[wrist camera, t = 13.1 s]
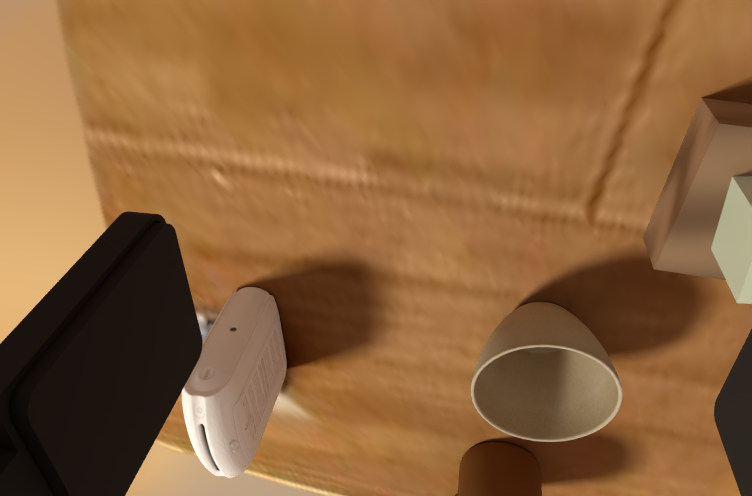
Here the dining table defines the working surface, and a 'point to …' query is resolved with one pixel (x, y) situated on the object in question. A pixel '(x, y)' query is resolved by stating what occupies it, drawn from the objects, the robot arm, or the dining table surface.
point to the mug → (499, 471)
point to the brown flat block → (700, 188)
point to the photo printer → (235, 382)
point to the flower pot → (545, 377)
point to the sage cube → (736, 239)
